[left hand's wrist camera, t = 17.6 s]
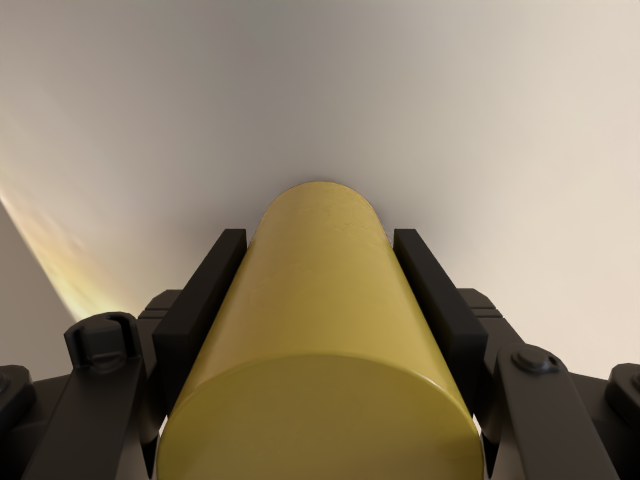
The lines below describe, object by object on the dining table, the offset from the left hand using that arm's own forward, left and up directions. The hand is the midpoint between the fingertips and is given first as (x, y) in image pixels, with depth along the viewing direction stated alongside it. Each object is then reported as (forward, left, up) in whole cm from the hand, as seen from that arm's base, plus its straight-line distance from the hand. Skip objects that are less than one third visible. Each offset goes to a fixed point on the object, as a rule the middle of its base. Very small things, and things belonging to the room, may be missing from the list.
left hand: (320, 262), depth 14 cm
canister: (0, 0, -3) cm, 3 cm away
